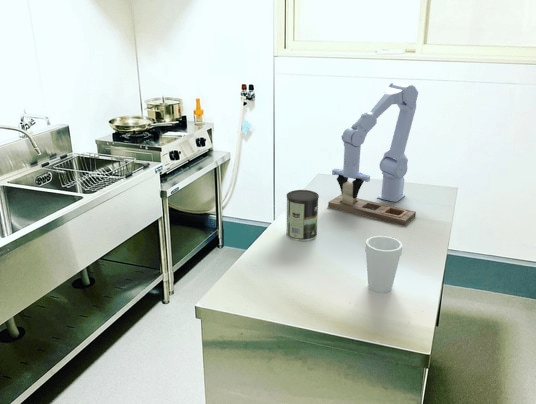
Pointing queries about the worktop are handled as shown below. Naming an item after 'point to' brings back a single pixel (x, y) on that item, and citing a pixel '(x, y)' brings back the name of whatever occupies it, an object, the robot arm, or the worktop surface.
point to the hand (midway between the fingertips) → (349, 196)
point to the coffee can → (302, 215)
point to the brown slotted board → (380, 210)
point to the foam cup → (382, 262)
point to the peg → (348, 193)
